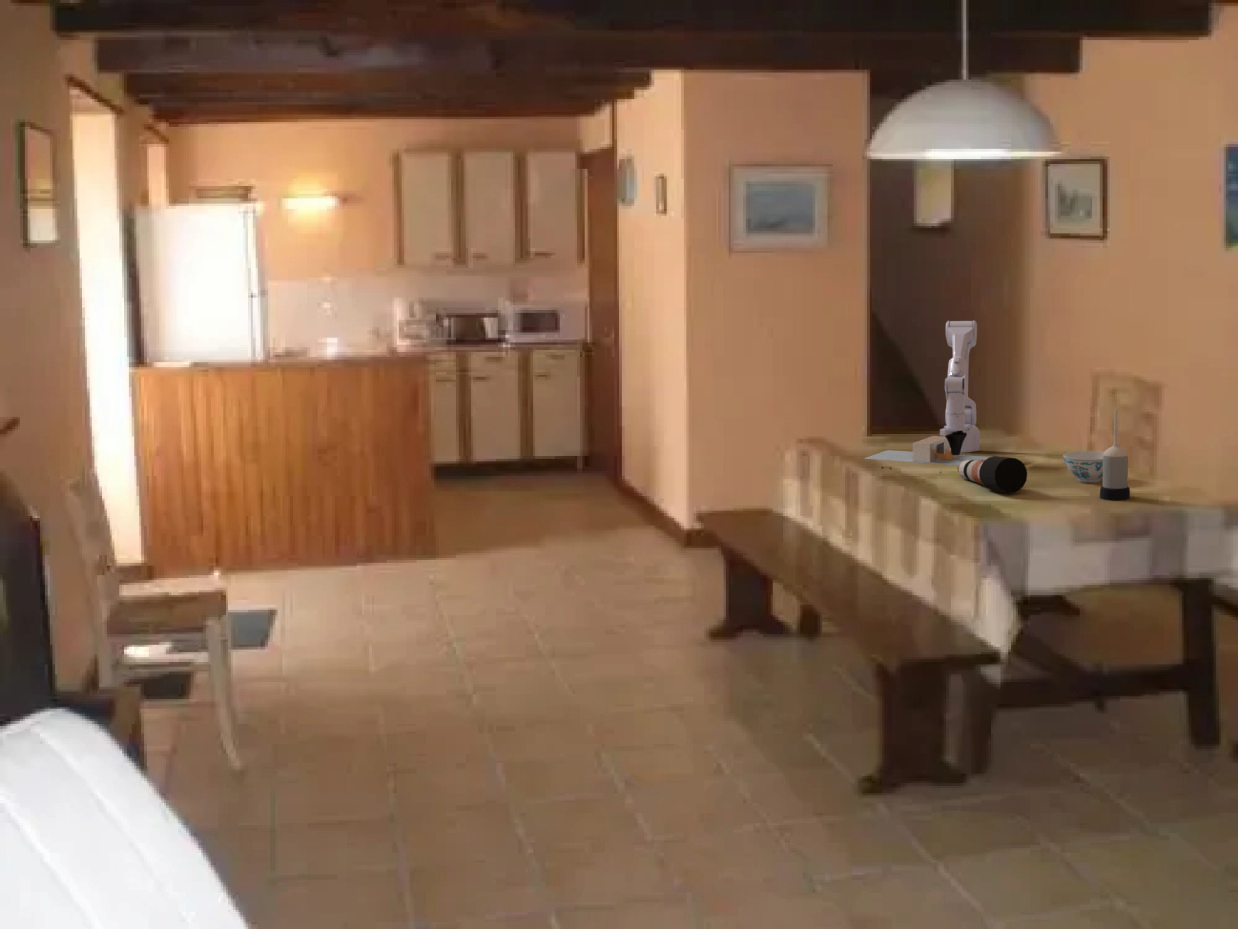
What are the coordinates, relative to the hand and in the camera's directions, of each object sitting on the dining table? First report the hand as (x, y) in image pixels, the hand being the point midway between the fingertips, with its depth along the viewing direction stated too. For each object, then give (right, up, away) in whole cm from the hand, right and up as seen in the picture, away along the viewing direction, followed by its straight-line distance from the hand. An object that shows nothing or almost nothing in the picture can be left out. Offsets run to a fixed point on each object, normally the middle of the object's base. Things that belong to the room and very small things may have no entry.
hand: (955, 454), depth 503 cm
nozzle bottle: (+31, -13, -65) cm, 73 cm away
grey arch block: (-7, -2, +5) cm, 9 cm away
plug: (-6, -1, +5) cm, 8 cm away
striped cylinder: (0, -10, -40) cm, 41 cm away
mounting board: (-7, -2, +6) cm, 9 cm away
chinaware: (+32, -8, -38) cm, 50 cm away
